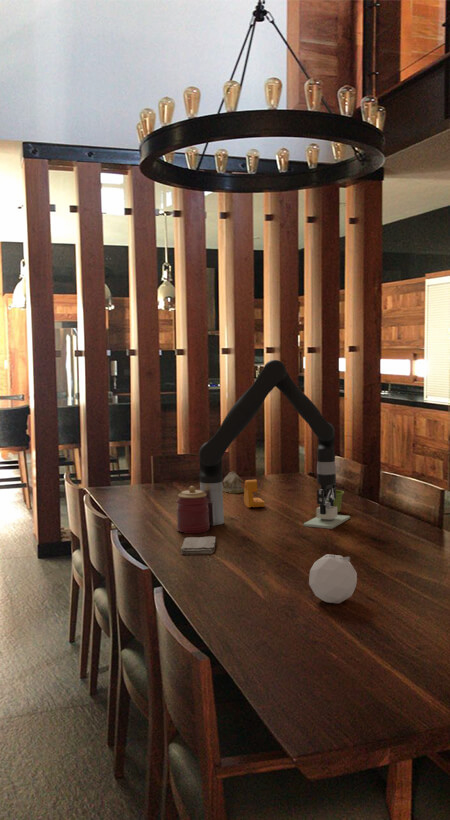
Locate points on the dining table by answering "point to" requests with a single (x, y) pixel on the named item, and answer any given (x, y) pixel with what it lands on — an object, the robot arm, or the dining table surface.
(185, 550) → the washcloth
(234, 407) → the robot arm
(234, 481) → the ceramic model
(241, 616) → the dining table surface
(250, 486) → the bracket
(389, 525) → the dining table surface
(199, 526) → the canister
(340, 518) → the stand
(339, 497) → the plant pot
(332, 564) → the geodesic sphere
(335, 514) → the white hollow square block
